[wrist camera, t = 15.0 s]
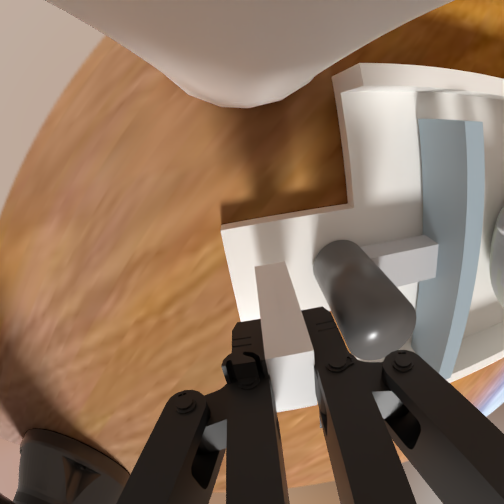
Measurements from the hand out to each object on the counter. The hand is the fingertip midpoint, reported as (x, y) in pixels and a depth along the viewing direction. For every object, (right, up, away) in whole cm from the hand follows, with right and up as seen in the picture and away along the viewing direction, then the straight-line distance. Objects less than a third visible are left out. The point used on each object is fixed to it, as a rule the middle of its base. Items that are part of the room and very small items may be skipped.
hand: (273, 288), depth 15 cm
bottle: (-2, +13, -2) cm, 13 cm away
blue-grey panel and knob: (+6, +1, +1) cm, 6 cm away
